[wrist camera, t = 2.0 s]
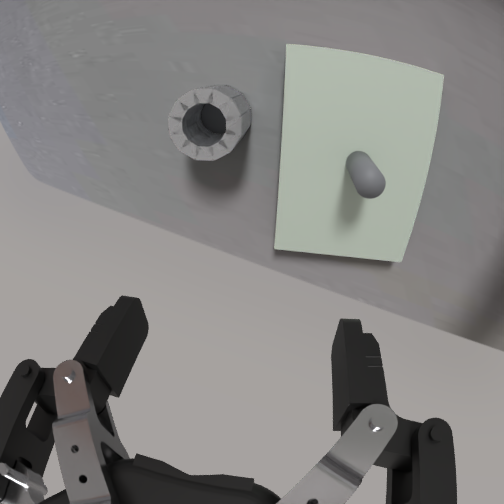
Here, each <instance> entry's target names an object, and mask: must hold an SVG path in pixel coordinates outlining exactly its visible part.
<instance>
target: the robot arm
mask: <svg viewBox="0 0 504 504" xmlns="http://www.w3.org/2000/svg"><path fill="white" fill-rule="evenodd" d="M147 334H148V321H147V318H146V316H145V313H144V310H143V307H142V304H141V301H140V299H139V298H135V297H128V296H121V297H120V298H119V299H118V301H117V302H116V304H115V305H114V306H110V307H108V308H107V309H106V310H105V311H104V312H103V313H101V315H100V316H99V318H98V319H97V321H96V324H95V325H94V326H93V327H92V329H91V332H89V334H88V335H87V337H86V339H85V340H84V342H83V344H82V345H81V347H80V349H79V350H78V352H77V354H76V356H75V357H74V358H73V360H66V361H64V362H62V363H61V364H59V365H58V366H57V368H40V366H39V365H38V364H37V362H36V361H34V360H32V359H27V360H24V361H22V362H21V363H20V364H19V365H18V366H17V367H16V369H15V371H14V372H13V374H12V376H11V378H10V380H9V382H8V384H7V386H6V388H5V389H4V391H3V393H2V395H1V397H0V504H345V502H346V501H347V500H348V499H349V498H350V497H351V496H352V494H353V493H354V492H355V491H356V489H357V488H358V487H359V485H360V484H361V482H362V478H363V477H364V475H365V474H366V473H367V472H368V470H369V469H370V467H371V466H372V465H376V466H380V467H384V468H387V492H386V493H387V494H386V504H457V487H456V486H457V485H456V468H455V467H456V466H455V454H454V445H453V436H452V430H451V428H450V426H449V425H448V423H447V422H446V421H444V420H442V419H440V418H431V419H428V420H427V421H425V422H424V423H418V422H414V421H410V420H406V419H403V418H401V417H399V416H397V415H396V414H395V413H394V411H393V410H392V409H391V408H390V406H389V403H388V397H387V391H386V383H385V377H384V371H383V368H382V359H381V354H380V348H379V344H378V342H377V341H376V339H375V338H374V336H373V335H372V333H363V332H362V325H361V321H360V320H359V319H340V321H339V324H338V328H337V331H336V335H335V338H334V342H333V345H332V354H331V361H332V388H333V431H341V438H340V439H339V440H338V441H337V443H336V444H335V445H334V446H333V447H332V448H331V450H330V451H329V452H328V453H327V454H326V455H325V456H324V457H323V458H322V459H321V460H320V461H319V462H318V463H317V464H316V465H315V466H314V467H313V468H312V469H311V471H310V472H309V473H308V474H307V475H306V476H305V477H304V478H303V479H302V480H301V481H300V482H299V483H298V484H297V485H296V486H295V487H294V488H293V489H292V490H291V491H289V492H288V493H287V494H286V495H285V496H284V497H283V498H282V499H281V498H280V497H279V496H277V495H276V494H275V493H274V492H272V491H270V490H268V489H267V488H265V487H263V486H261V485H258V484H255V483H254V479H253V478H245V477H237V476H230V475H223V474H222V475H188V474H186V473H184V472H182V471H180V470H178V469H176V468H174V467H172V466H171V465H169V464H167V463H165V462H163V461H160V460H156V459H153V458H150V457H146V456H143V455H140V454H136V456H135V459H130V458H129V456H128V453H127V452H126V449H125V448H124V446H123V445H122V443H121V441H120V439H119V436H118V433H117V430H116V427H115V424H114V420H113V417H112V413H111V410H110V406H109V403H108V401H107V400H108V397H109V395H112V396H115V397H119V396H120V394H121V392H122V389H123V387H124V384H125V383H126V380H127V378H128V376H129V374H130V372H131V369H132V367H133V365H134V363H135V361H136V358H137V356H138V354H139V352H140V350H141V348H142V346H143V343H144V341H145V339H146V337H147ZM34 402H36V404H37V406H36V408H35V411H34V413H33V415H32V418H31V420H30V422H29V424H28V427H27V428H26V419H27V417H28V415H29V412H30V410H31V408H32V406H33V403H34ZM54 442H55V445H56V450H57V455H58V460H59V464H60V469H61V473H62V476H63V480H64V484H65V487H66V489H65V490H63V491H61V492H59V493H57V494H55V495H53V496H51V497H49V498H47V499H46V500H44V495H46V494H47V487H46V486H45V485H44V482H43V479H42V477H43V474H44V471H45V468H46V465H47V462H48V459H49V456H50V453H51V451H52V448H53V445H54Z"/></svg>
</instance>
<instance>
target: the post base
mask: <svg viewBox="0 0 504 504" xmlns="http://www.w3.org/2000/svg"><path fill="white" fill-rule="evenodd" d="M443 79H444V75H442V74H439V73H436V72H433V71H430V70H427V69H423V68H420V67H417V66H413V65H410V64H406V63H402V62H398V61H394V60H390V59H386V58H382V57H377V56H372V55H367V54H362V53H357V52H351V51H345V50H339V49H332V48H324V47H316V46H306V45H294V44H286V65H285V87H284V107H283V126H282V143H281V160H280V175H279V190H278V205H277V219H276V232H275V245H274V249H279V250H288V251H298V252H308V253H317V254H327V255H337V256H346V257H356V258H365V259H374V260H384V261H393V262H402V259H403V256H404V253H405V250H406V247H407V244H408V241H409V238H410V235H411V232H412V229H413V225H414V222H415V219H416V215H417V212H418V208H419V205H420V201H421V198H422V194H423V190H424V186H425V182H426V178H427V174H428V170H429V165H430V161H431V156H432V151H433V146H434V141H435V136H436V130H437V124H438V118H439V111H440V104H441V97H442V89H443Z"/></svg>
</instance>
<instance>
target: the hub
mask: <svg viewBox="0 0 504 504" xmlns="http://www.w3.org/2000/svg"><path fill="white" fill-rule="evenodd" d="M205 103H210V104H212V105H213V106H215V107H217V108H219V109H220V110H221V112H222V113H223V115H224V117H225V119H226V132H225V134H214V133H213V132H211V131H209V130H207V129H206V128H205V126H204V125H203V123H202V121H201V110H202V108H203V106H204V105H205ZM250 108H251V107H250V105H249V104H248V102H247V100H246V98H245V97H244V95H243V94H242V93H241V92H239V91H237V90H235V89H234V88H232V87H230V86H227V85H217V86H207V87H201V88H196V89H192V90H191V91H189V92H188V93H186V94H185V95H183V96H181V97H180V98H178V99H177V100H176V102H175V104H174V106H173V108H172V110H171V112H170V114H169V116H170V117H168V122H169V134H171V135H170V137H171V139H172V140H173V142H174V143H175V145H176V147H177V148H178V150H180V152H182V153H184V154H186V155H187V156H189V157H191V158H193V159H194V160H195V159H196V160H207V161H214V160H217V159H218V158H220V157H222V156H224V155H226V154H228V153H230V152H231V151H232V150H233V149H234V148H235V146H236V145H237V144H238V143H239V141H240V140H241V139H242V138H243V136H244V135H245V133H246V132H247V130H248V128H249V127H250V125H251V109H250Z"/></svg>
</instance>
